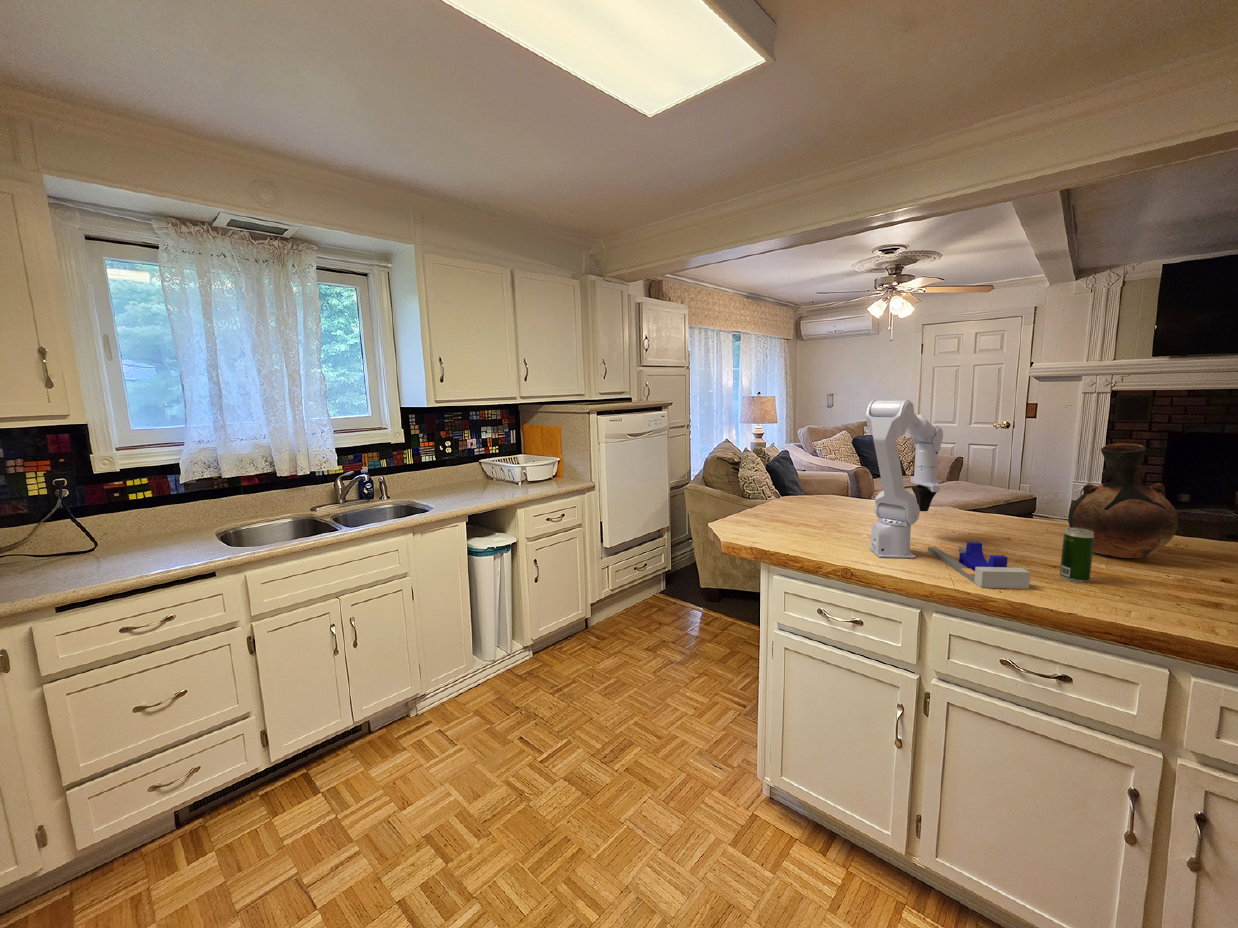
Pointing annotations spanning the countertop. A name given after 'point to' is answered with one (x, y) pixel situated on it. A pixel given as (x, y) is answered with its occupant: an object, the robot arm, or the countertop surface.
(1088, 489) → the ceramic vessel
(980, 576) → the cable guide
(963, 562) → the cable clip
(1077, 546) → the beer can
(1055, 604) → the countertop surface
